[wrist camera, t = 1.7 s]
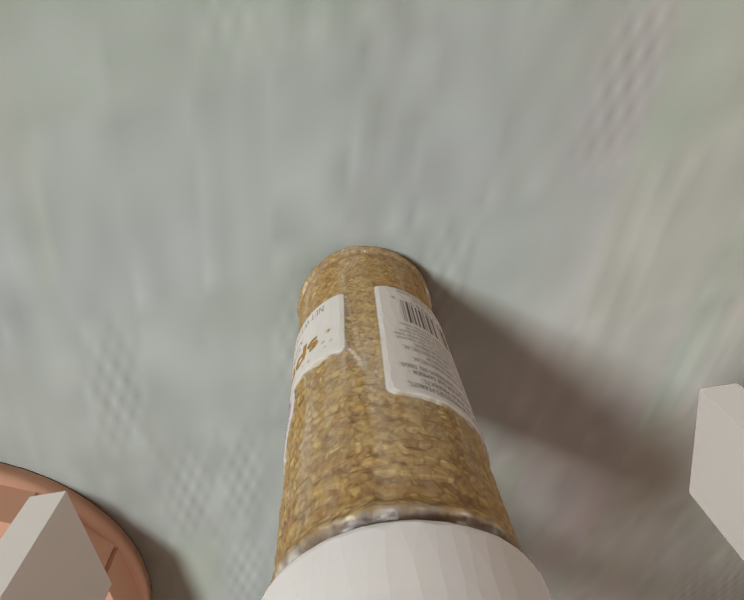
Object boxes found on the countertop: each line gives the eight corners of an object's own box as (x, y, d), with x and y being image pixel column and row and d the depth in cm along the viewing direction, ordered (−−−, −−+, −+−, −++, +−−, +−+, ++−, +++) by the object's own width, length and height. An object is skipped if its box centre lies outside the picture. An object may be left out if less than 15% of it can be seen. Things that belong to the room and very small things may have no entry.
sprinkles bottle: (276, 270, 18) (164, 717, 6) (407, 221, 18) (559, 601, 6) (328, 379, 20) (320, 886, 8) (448, 338, 20) (628, 807, 8)
